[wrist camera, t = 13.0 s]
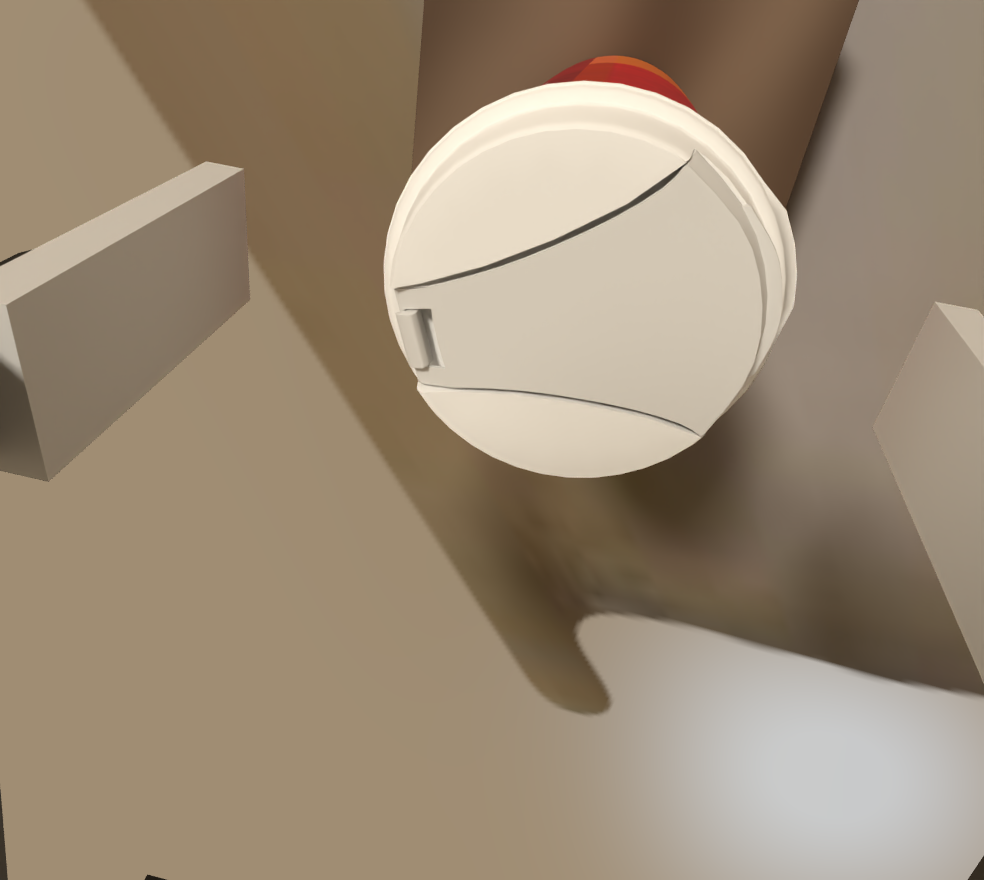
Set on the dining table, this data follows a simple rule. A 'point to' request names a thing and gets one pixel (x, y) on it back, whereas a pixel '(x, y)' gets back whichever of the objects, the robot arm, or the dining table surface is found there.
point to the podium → (653, 39)
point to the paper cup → (587, 273)
